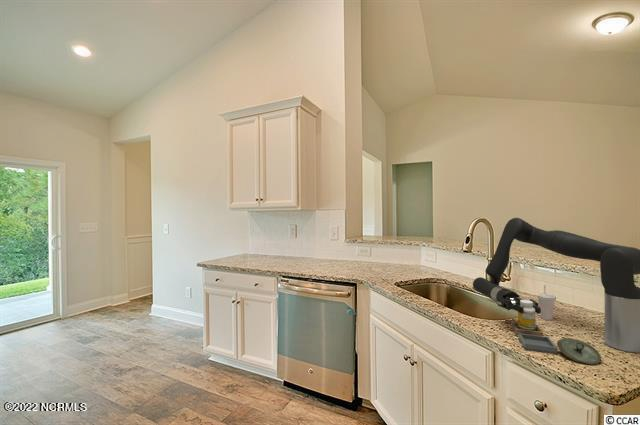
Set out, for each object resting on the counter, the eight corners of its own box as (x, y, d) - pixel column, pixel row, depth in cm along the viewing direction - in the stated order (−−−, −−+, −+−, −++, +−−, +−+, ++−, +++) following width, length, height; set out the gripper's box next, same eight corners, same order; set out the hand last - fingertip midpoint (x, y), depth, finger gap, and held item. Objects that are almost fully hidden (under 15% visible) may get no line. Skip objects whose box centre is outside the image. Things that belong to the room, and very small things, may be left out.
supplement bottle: (519, 323, 115) (518, 298, 115) (536, 326, 112) (535, 300, 112) (517, 327, 111) (517, 301, 111) (535, 331, 108) (534, 304, 108)
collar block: (536, 329, 114) (536, 324, 114) (542, 338, 106) (542, 332, 106) (511, 326, 117) (511, 321, 117) (515, 334, 110) (515, 329, 110)
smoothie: (538, 314, 130) (538, 282, 130) (557, 318, 125) (557, 285, 125) (535, 318, 125) (535, 285, 125) (554, 322, 121) (554, 288, 121)
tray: (548, 342, 103) (548, 337, 103) (557, 354, 95) (557, 348, 95) (518, 338, 106) (518, 333, 106) (524, 349, 98) (524, 343, 98)
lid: (585, 350, 97) (585, 335, 97) (610, 366, 87) (610, 349, 87) (550, 349, 99) (550, 334, 99) (571, 364, 89) (571, 347, 89)
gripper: (487, 288, 126) (511, 300, 109) (522, 288, 125) (551, 300, 109) (487, 306, 126) (511, 321, 109) (522, 306, 126) (551, 321, 109)
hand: (531, 310), depth 109 cm, fingers closed on supplement bottle, 5 cm apart
